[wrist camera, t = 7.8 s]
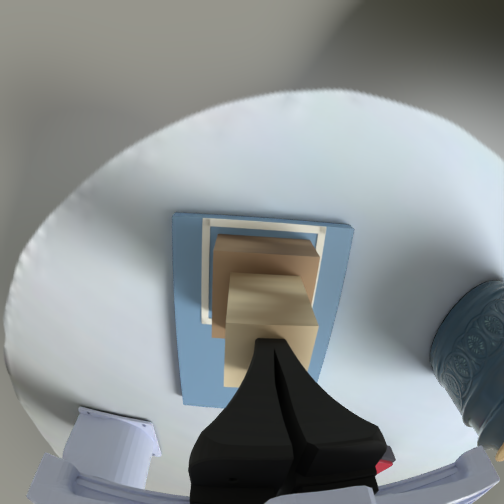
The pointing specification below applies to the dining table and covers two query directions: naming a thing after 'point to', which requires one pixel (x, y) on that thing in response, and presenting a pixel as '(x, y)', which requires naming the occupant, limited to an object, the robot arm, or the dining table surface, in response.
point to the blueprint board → (200, 293)
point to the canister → (475, 362)
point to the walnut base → (258, 266)
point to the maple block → (266, 320)
